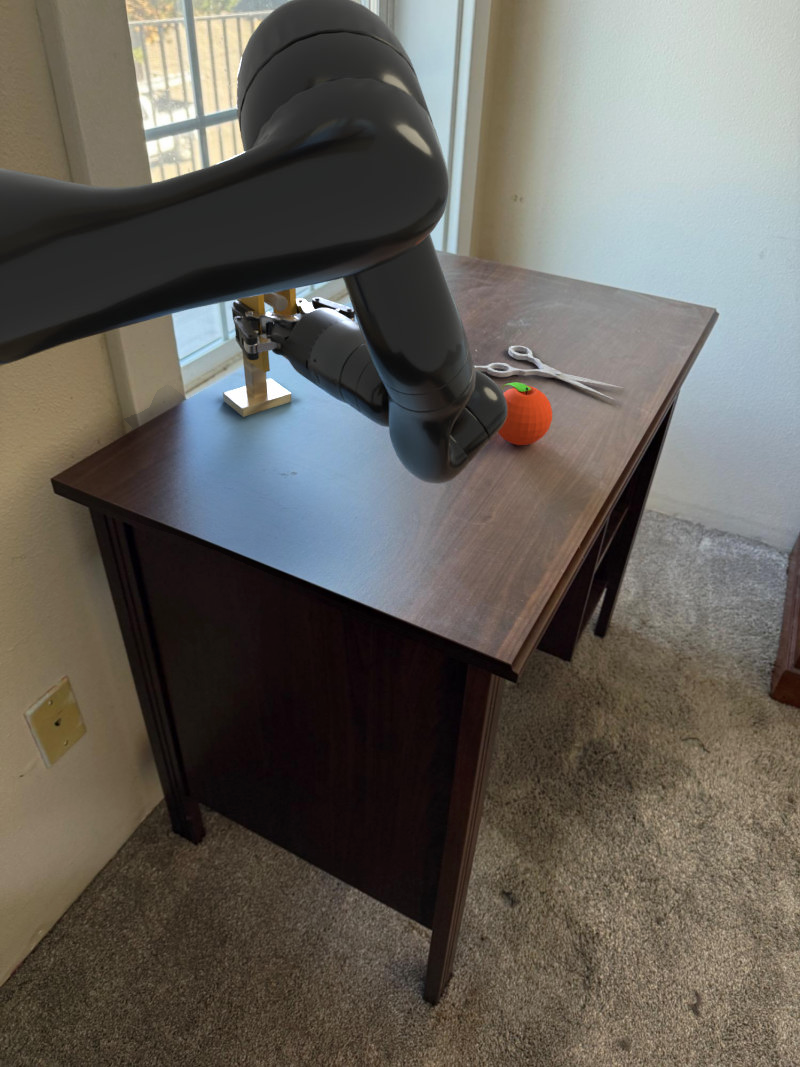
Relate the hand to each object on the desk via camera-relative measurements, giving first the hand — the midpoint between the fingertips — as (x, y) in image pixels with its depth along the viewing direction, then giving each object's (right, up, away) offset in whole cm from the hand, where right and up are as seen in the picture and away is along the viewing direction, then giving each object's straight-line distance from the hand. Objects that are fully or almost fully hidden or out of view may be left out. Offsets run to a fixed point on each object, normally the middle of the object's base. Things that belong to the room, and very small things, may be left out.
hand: (257, 304), depth 86 cm
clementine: (+30, -15, +5) cm, 34 cm away
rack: (0, -11, +8) cm, 13 cm away
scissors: (+37, -5, +18) cm, 42 cm away
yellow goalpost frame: (+1, -6, +2) cm, 7 cm away
